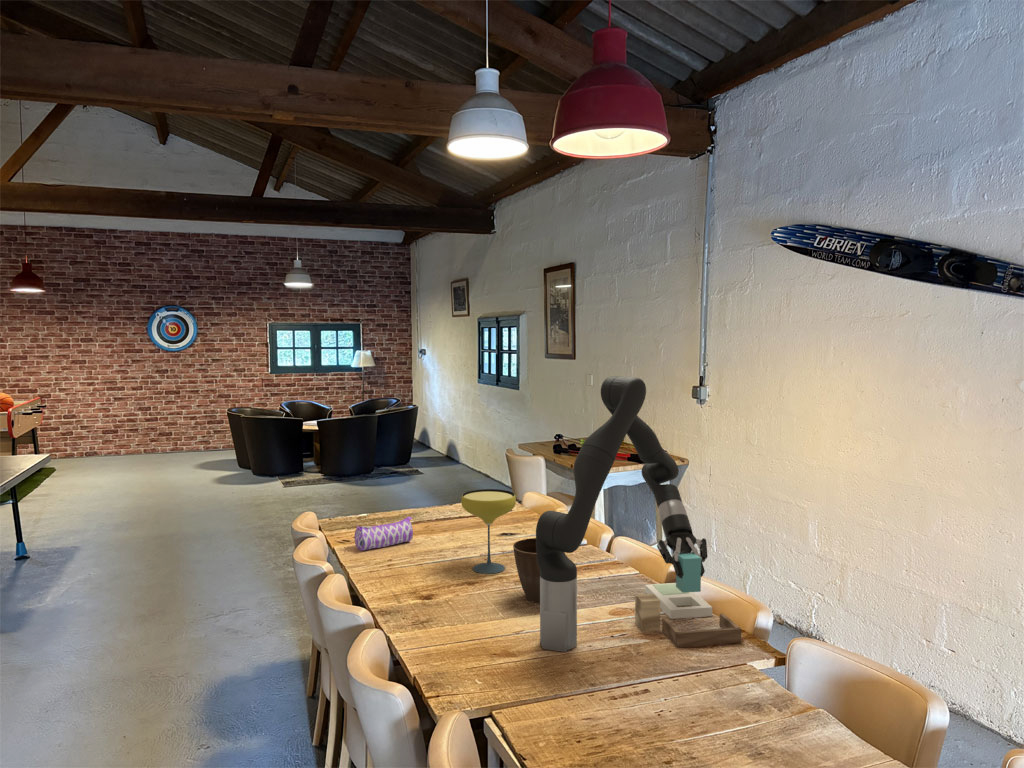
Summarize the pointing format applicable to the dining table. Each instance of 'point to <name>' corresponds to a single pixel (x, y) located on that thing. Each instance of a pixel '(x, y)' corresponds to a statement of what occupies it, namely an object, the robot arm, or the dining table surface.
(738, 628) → the walnut tray
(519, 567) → the plant pot
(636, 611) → the beech block
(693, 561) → the teal block
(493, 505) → the cocktail glass
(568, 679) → the dining table surface
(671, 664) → the dining table surface
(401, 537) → the pencil case
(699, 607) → the cream hole board
